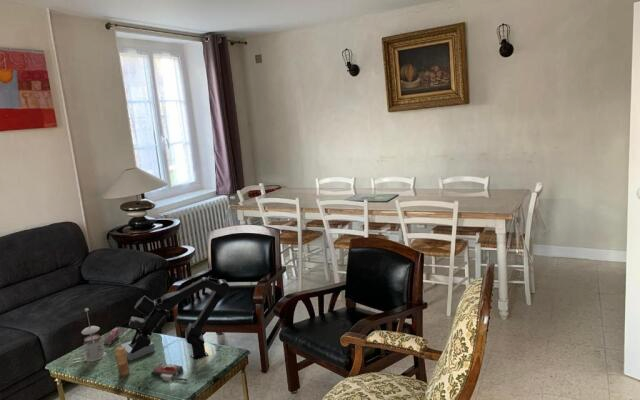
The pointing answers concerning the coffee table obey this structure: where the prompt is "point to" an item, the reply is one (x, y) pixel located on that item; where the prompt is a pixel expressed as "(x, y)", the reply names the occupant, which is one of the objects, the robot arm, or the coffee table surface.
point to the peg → (122, 362)
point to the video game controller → (112, 335)
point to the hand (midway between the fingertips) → (131, 348)
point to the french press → (95, 348)
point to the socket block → (138, 353)
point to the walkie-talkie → (168, 372)
